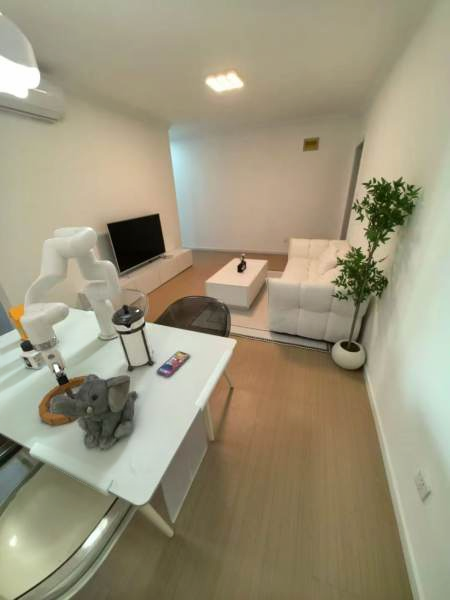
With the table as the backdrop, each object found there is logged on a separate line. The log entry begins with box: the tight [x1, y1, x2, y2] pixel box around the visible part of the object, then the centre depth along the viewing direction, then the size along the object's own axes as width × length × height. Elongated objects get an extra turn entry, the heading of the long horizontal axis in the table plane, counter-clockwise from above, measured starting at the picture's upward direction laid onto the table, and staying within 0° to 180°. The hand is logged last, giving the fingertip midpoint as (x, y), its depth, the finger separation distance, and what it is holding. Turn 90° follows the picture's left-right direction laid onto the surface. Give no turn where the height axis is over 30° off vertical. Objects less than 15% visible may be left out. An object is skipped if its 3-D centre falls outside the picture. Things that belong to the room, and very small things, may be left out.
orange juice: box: [7, 303, 28, 341], centre depth 128 cm, size 8×9×20 cm
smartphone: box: [157, 350, 190, 377], centre depth 104 cm, size 1×7×15 cm
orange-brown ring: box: [38, 375, 87, 426], centre depth 88 cm, size 20×20×3 cm
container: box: [18, 339, 47, 370], centre depth 108 cm, size 8×8×13 cm
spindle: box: [64, 388, 77, 399], centre depth 88 cm, size 4×4×6 cm
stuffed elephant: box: [49, 373, 138, 450], centre depth 72 cm, size 19×21×27 cm
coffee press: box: [111, 304, 155, 372], centre depth 102 cm, size 17×16×30 cm
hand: (62, 377), depth 92 cm, fingers open, 9 cm apart
